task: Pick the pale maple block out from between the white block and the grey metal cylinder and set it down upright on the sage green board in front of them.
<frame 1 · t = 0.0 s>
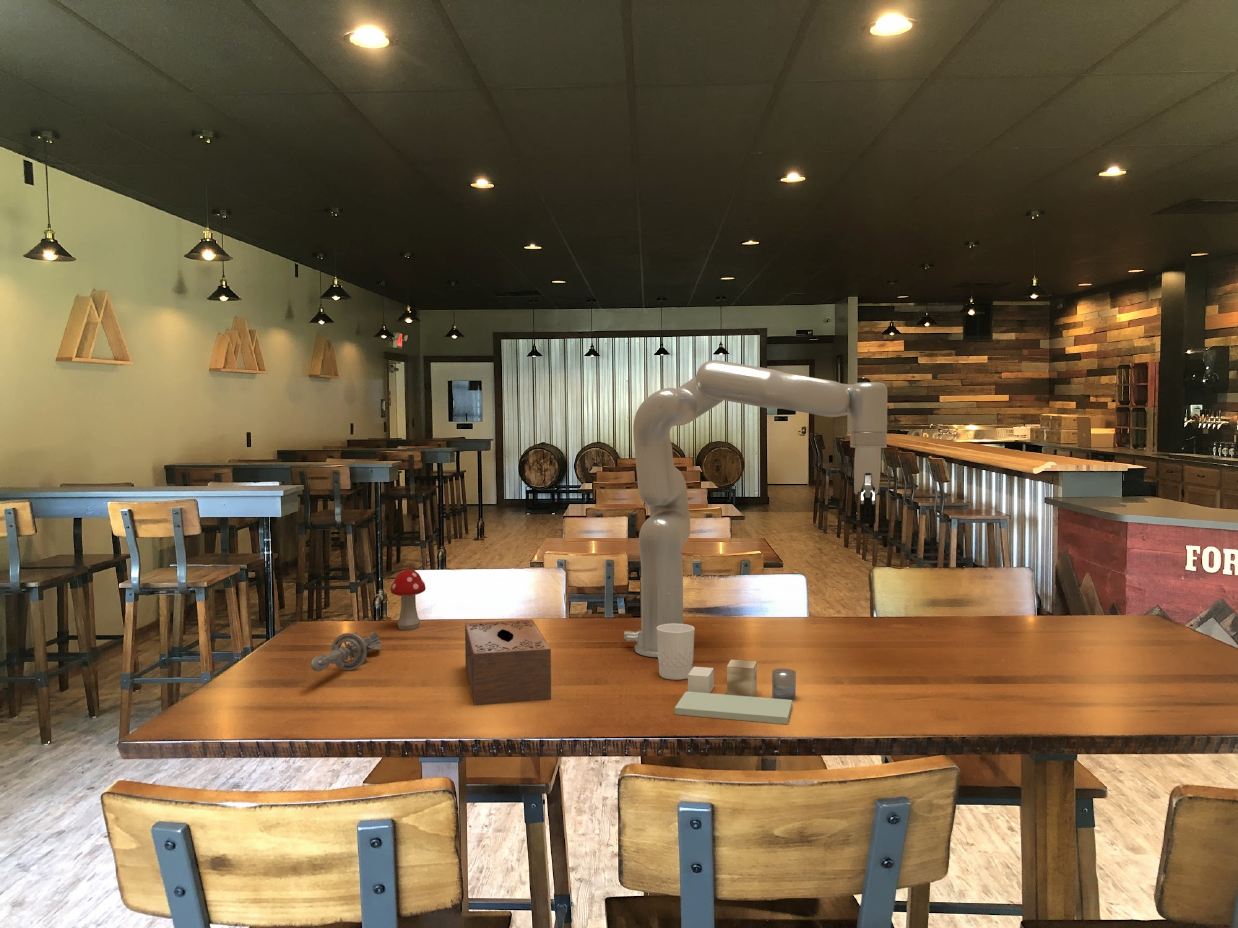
hand: (867, 520, 190), 31 cm above the table, fingers open, 9 cm apart
sage board: (734, 710, 162), on the table
maple block: (741, 694, 171), on the table
white block: (700, 691, 174), on the table
metal cylinder: (783, 697, 169), on the table
decorative mushroom: (408, 628, 228), on the table
tissue box cover: (505, 685, 179), on the table
spaceship: (348, 671, 189), on the table
white cup: (675, 676, 184), on the table
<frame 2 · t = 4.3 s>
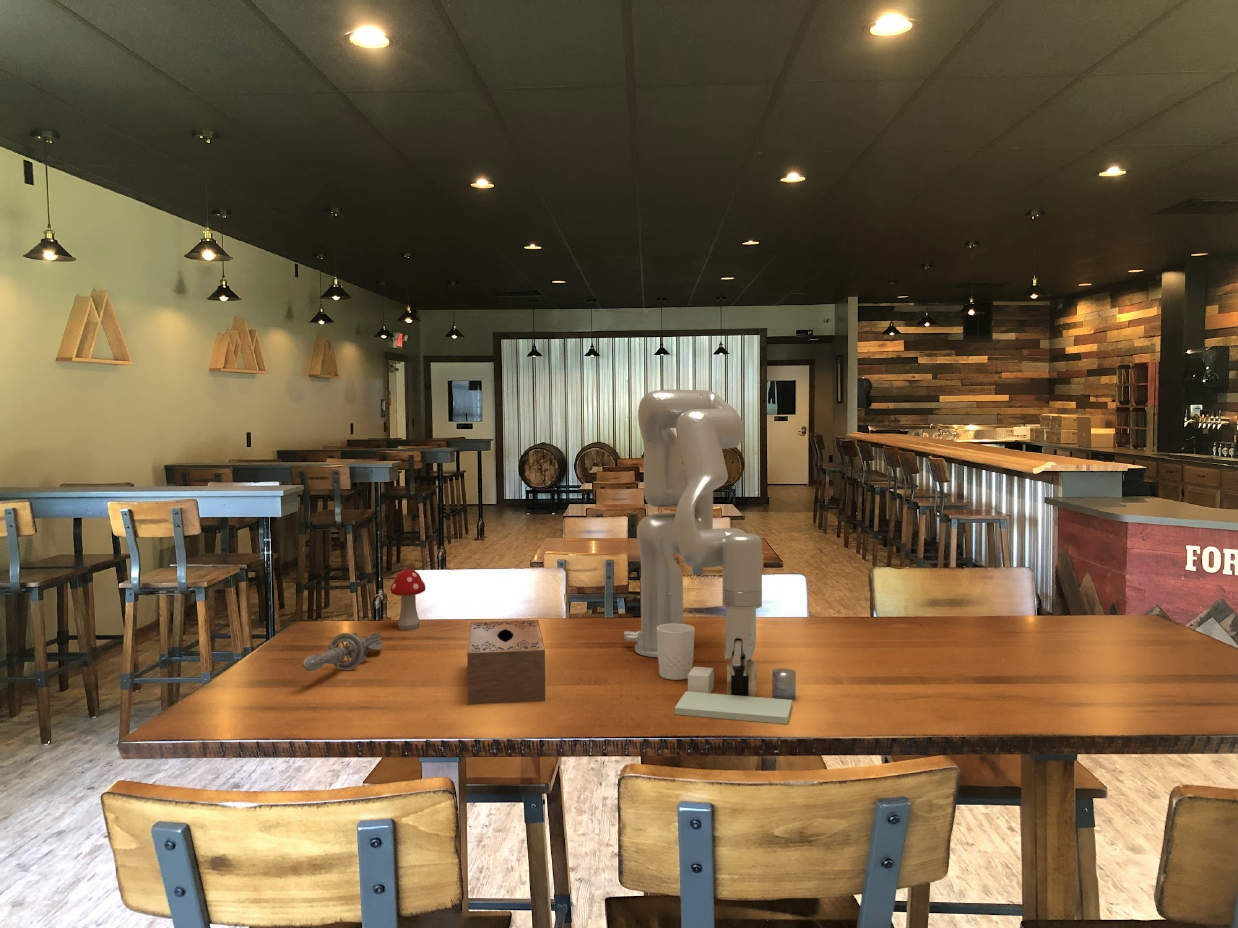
hand: (741, 690, 171), 1 cm above the table, fingers closed on maple block, 5 cm apart
maple block: (741, 694, 171), on the table, touching gripper
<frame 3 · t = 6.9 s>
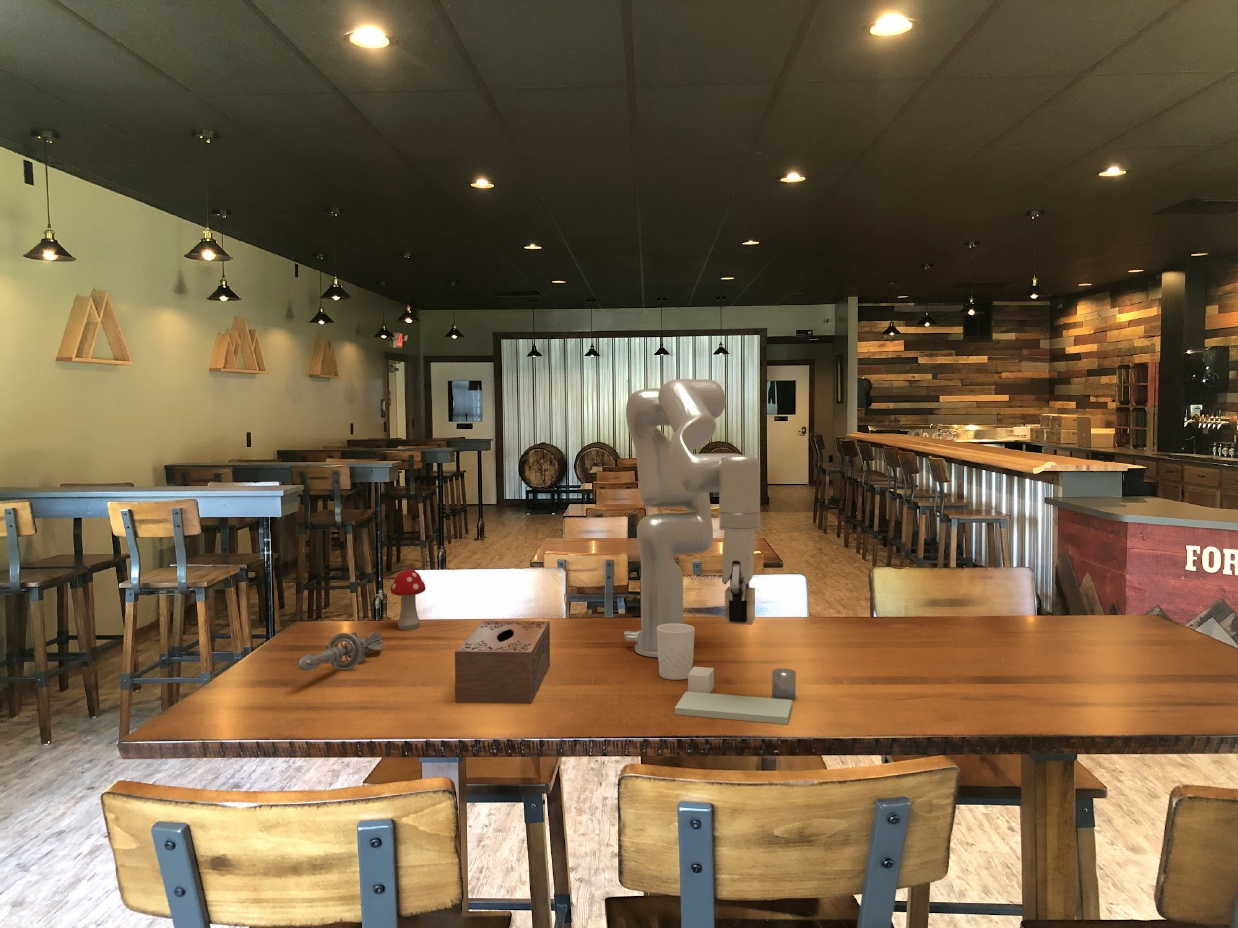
hand: (739, 617, 166), 16 cm above the table, fingers closed on maple block, 4 cm apart
maple block: (740, 621, 166), point 15 cm above the table, touching gripper
when the fingers open (3 cm above the table, at t = 9.4 s): maple block drops 1 cm, resting on sage board.
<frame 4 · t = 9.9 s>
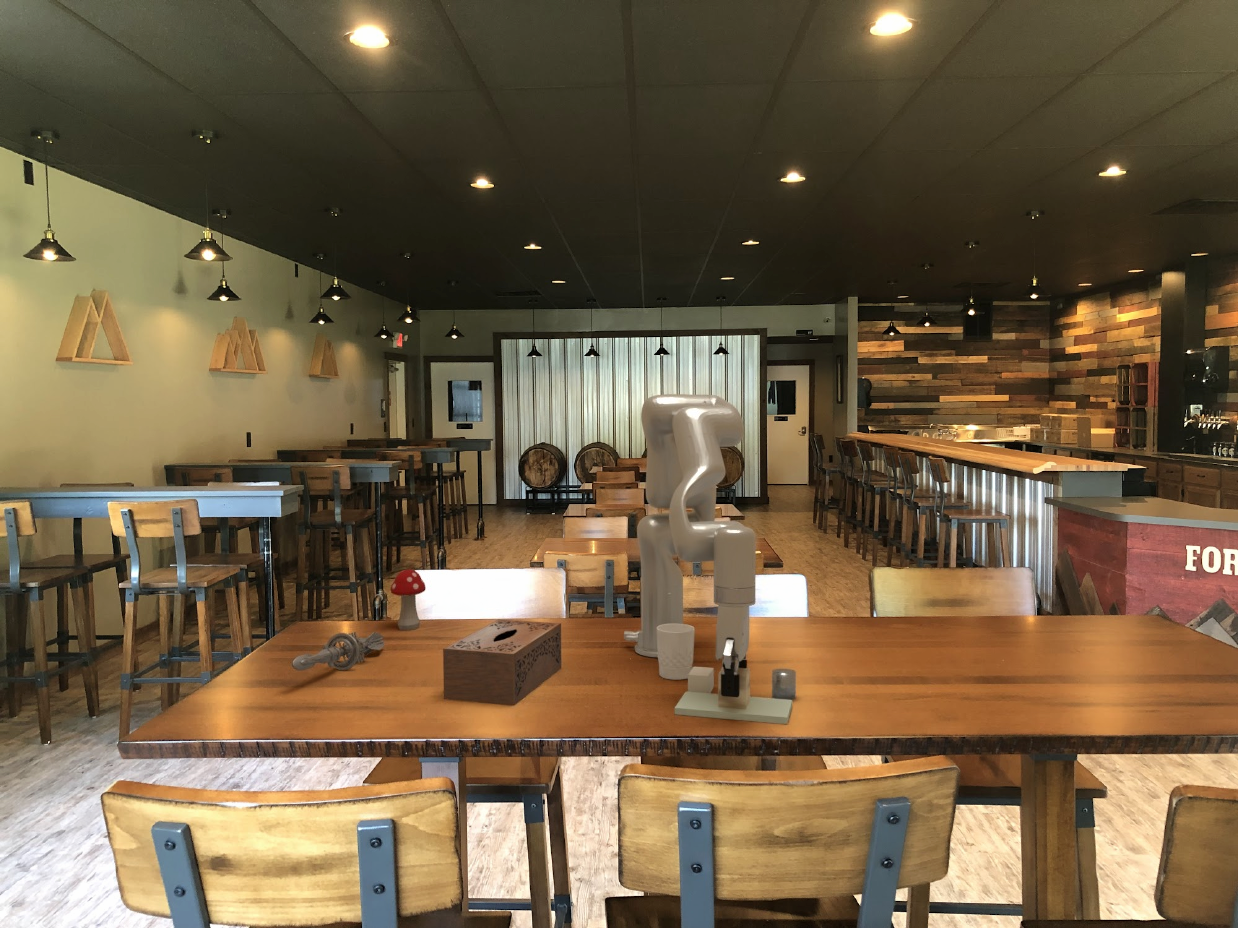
hand: (734, 688, 162), 4 cm above the table, fingers open, 9 cm apart
maple block: (734, 703, 162), point 1 cm above the table, touching sage board
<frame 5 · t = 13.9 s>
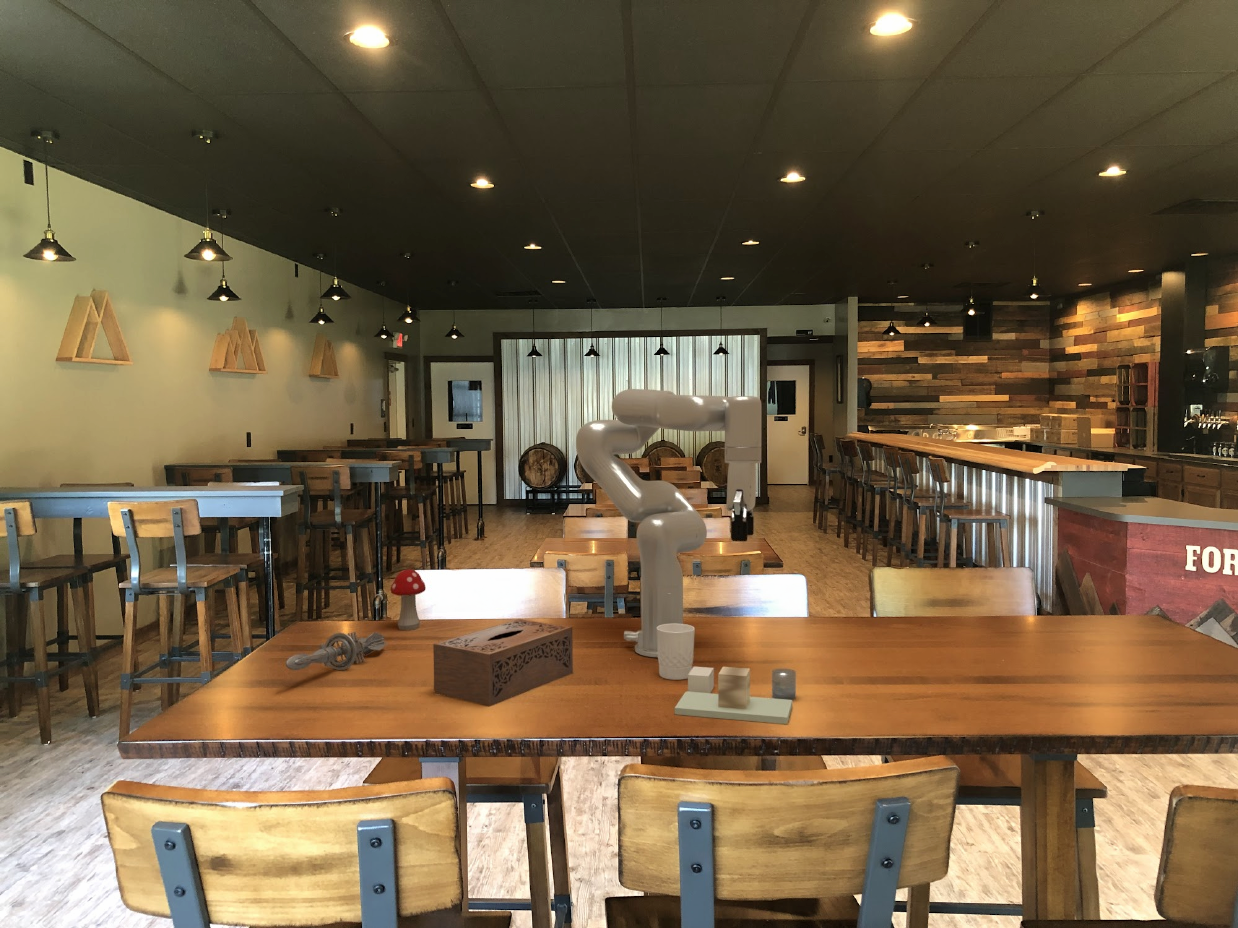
hand: (742, 537, 185), 28 cm above the table, fingers open, 9 cm apart
at the end: maple block inside the target area on the sage board (0.0 cm from its centre), point 1.2 cm above the sage board's base; maple block tilted 0°; the gripper is holding nothing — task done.
